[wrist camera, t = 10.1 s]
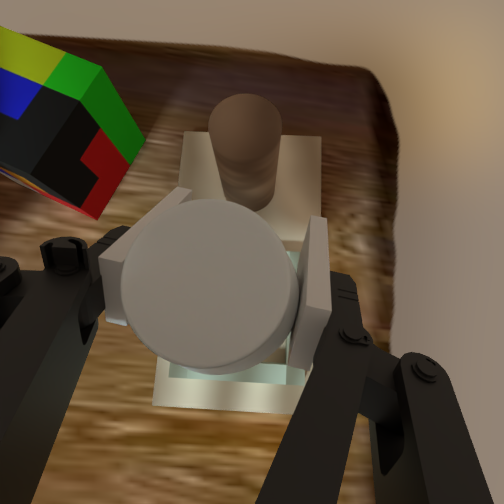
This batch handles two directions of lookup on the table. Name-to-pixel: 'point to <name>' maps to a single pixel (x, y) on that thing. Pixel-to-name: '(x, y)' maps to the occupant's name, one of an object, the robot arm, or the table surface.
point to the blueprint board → (273, 212)
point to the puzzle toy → (62, 125)
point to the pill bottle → (210, 287)
